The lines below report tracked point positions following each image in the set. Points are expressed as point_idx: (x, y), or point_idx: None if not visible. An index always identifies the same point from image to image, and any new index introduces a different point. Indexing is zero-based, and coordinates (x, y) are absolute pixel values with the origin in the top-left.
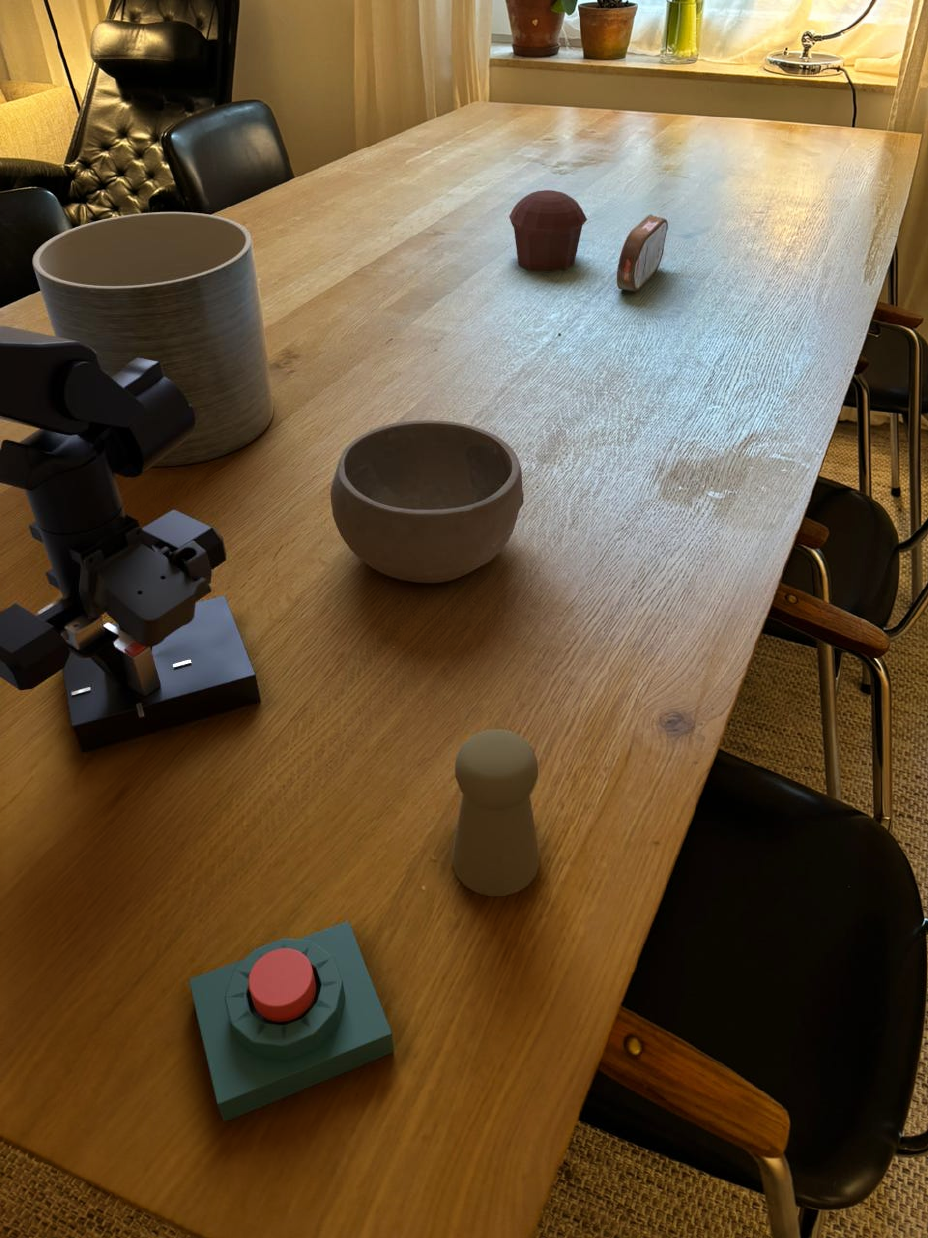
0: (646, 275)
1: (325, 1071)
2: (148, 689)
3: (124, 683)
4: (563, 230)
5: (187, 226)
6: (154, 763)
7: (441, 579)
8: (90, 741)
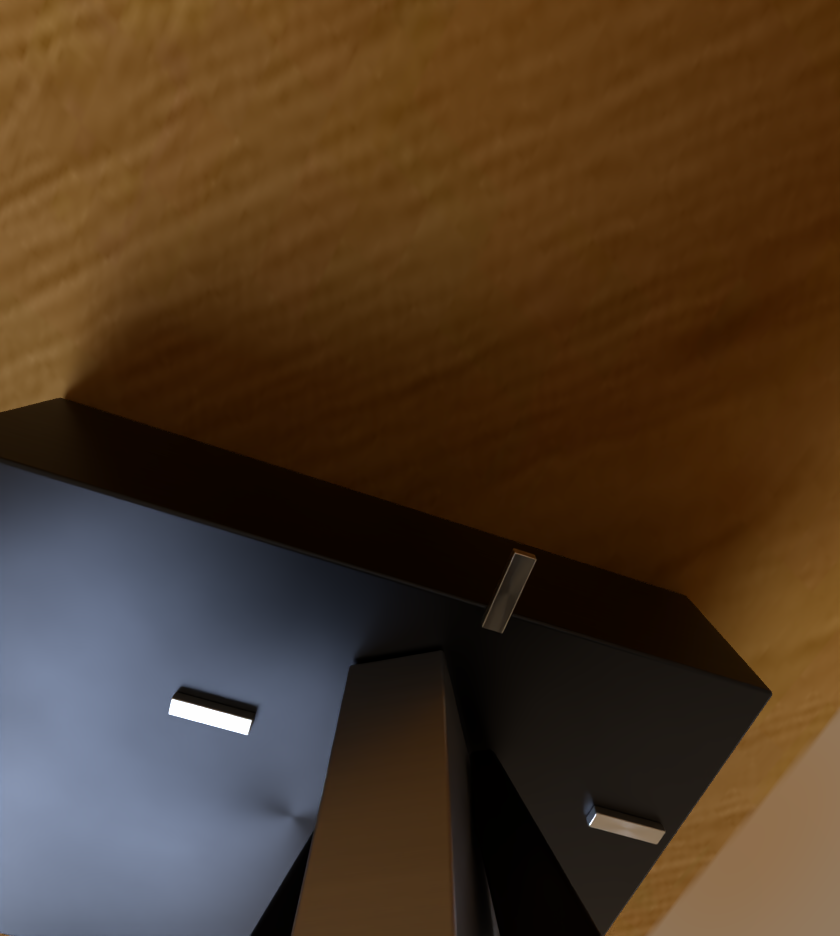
0: None
1: None
2: (416, 672)
3: (485, 765)
4: None
5: None
6: (538, 391)
7: None
8: (673, 610)
